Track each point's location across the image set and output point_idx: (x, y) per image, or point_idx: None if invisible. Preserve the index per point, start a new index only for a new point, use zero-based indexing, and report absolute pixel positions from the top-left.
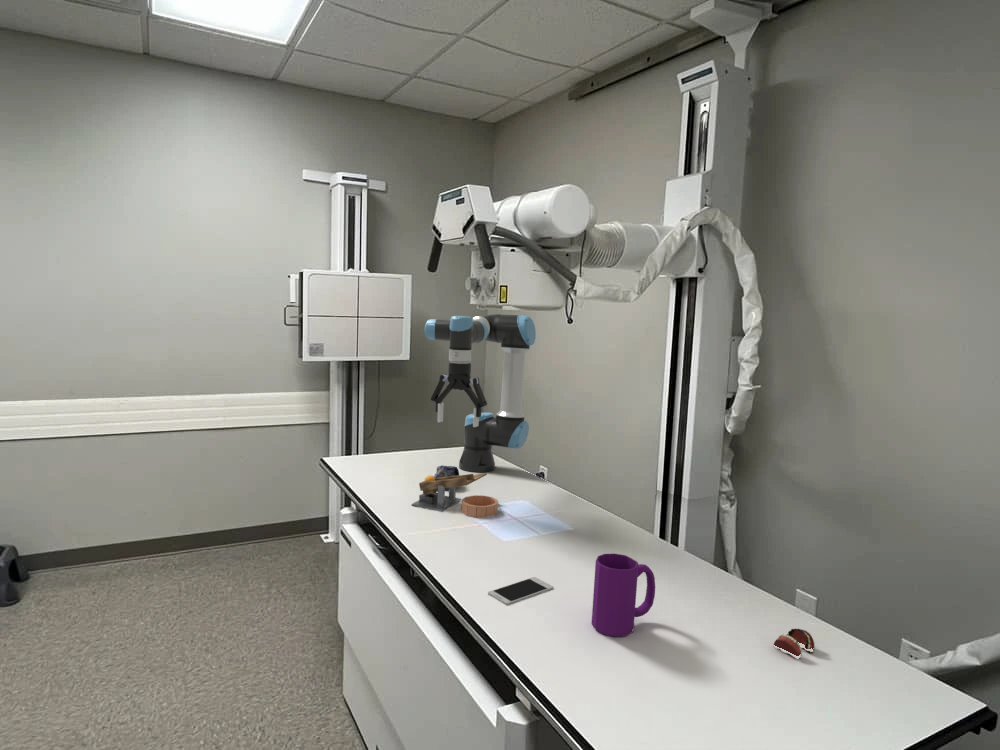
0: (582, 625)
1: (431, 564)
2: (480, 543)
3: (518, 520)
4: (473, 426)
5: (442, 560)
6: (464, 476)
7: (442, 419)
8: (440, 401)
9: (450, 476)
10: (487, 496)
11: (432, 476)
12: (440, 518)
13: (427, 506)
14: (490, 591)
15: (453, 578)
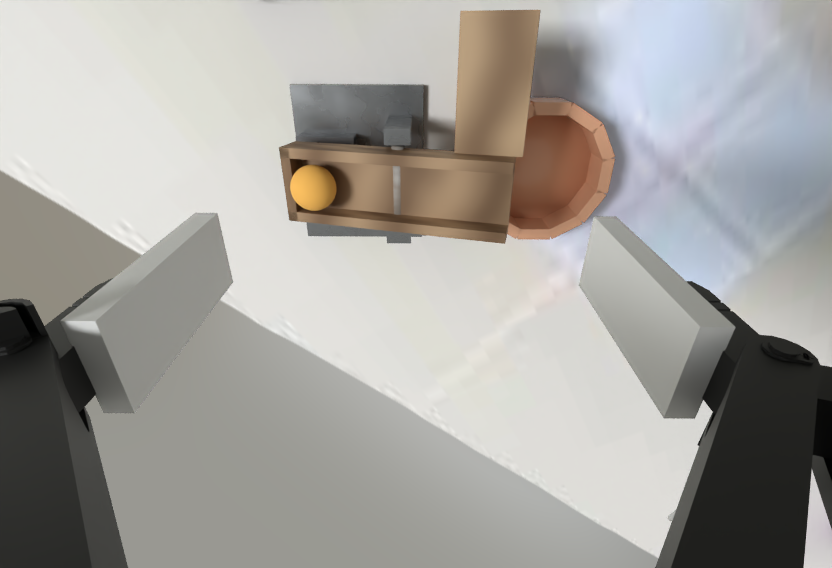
0: (817, 532)
1: (544, 481)
2: (607, 375)
3: (683, 182)
4: (585, 287)
5: (556, 464)
6: (469, 169)
7: (212, 233)
8: (64, 373)
9: (390, 155)
10: (553, 104)
11: (321, 193)
12: (447, 284)
13: (365, 231)
14: (672, 517)
15: (599, 502)
